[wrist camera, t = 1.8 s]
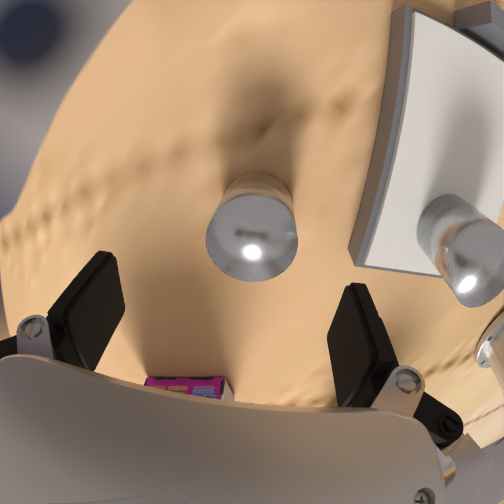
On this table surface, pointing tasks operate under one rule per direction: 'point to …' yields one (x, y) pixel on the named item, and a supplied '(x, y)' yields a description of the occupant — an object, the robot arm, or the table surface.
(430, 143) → the scale
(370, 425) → the robot arm
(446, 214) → the cylinder
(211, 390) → the candy bar box
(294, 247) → the cylinder
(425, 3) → the table surface
